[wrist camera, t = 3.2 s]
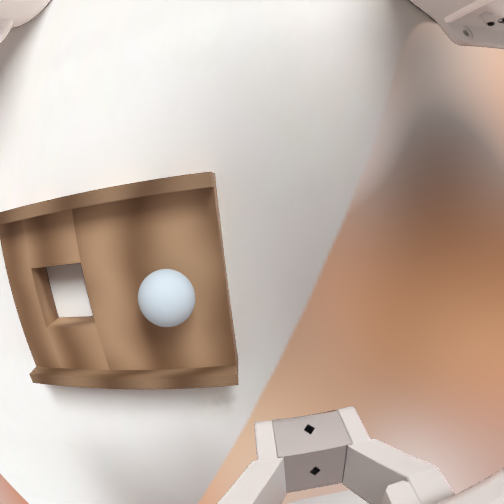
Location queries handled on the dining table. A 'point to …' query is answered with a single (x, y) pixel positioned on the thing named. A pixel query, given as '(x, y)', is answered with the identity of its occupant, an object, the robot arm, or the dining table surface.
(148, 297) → the ball
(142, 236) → the wooden tray
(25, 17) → the mug
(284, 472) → the robot arm
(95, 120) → the dining table surface
